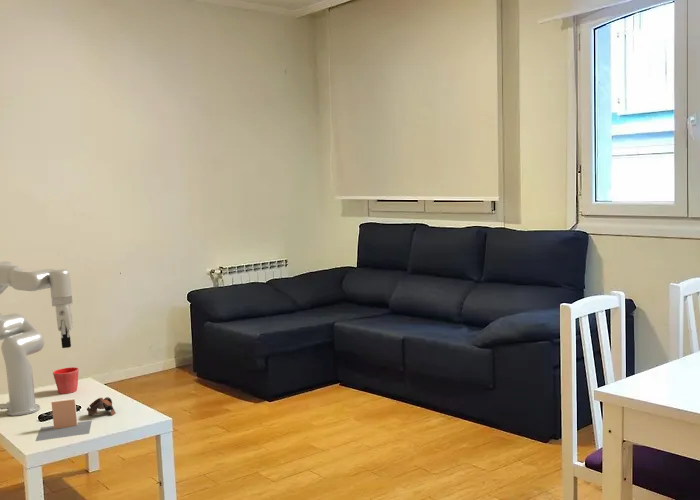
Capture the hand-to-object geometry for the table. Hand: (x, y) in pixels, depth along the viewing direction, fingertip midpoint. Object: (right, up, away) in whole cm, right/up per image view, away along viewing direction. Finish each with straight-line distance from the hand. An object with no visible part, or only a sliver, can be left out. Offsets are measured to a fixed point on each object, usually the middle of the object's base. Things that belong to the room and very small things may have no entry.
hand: (66, 347), depth 291 cm
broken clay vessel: (+15, -27, -2) cm, 31 cm away
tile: (+5, -28, -15) cm, 32 cm away
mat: (+7, -29, -20) cm, 35 cm away
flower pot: (-14, -25, +38) cm, 47 cm away
